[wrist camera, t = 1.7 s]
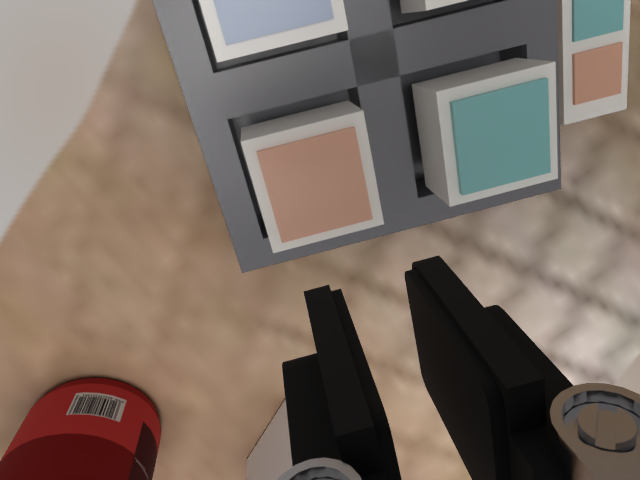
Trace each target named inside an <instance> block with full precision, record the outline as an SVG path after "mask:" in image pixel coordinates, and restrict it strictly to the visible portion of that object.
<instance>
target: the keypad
mask: <svg viewBox="0 0 640 480" xmlns="http://www.w3.org/2000/svg"><path fill="white" fill-rule="evenodd" d="M152 1H153V4H154V7H155V10H156V13H157V16H158V19H159V22H160V25H161V28H162V31H163V34H164V37H165V40H166V43H167V46H168V49H169V52H170V55H171V58H172V61H173V64H174V67H175V70H176V73H177V77H178V80H179V83H180V86H181V89H182V92H183V95H184V98H185V101H186V104H187V107H188V110H189V113H190V116H191V119H192V122H193V125H194V128H195V131H196V134H197V137H198V140H199V143H200V146H201V149H202V152H203V155H204V158H205V161H206V164H207V167H208V171H209V174H210V177H211V180H212V183H213V186H214V189H215V192H216V195H217V198H218V201H219V204H220V207H221V210H222V213H223V216H224V219H225V222H226V225H227V228H228V231H229V234H230V237H231V240H232V243H233V246H234V249H235V252H236V255H237V258H238V261H239V265H240V268H241V271H242V273H244V272H247V271H251V270H255V269H259V268H262V267H266V266H270V265H274V264H278V263H281V262H285V261H289V260H293V259H297V258H300V257H304V256H308V255H312V254H316V253H319V252H323V251H327V250H331V249H334V248H338V247H342V246H346V245H350V244H353V243H357V242H361V241H365V240H369V239H372V238H376V237H380V236H384V235H387V234H391V233H395V232H399V231H403V230H406V229H410V228H414V227H418V226H422V225H425V224H429V223H433V222H437V221H441V220H444V219H448V218H452V217H456V216H459V215H463V214H467V213H471V212H475V211H478V210H482V209H486V208H490V207H494V206H497V205H501V204H505V203H509V202H512V201H516V200H520V199H524V198H528V197H531V196H535V195H539V194H543V193H547V192H550V191H554V190H558V189H561V168H560V116H559V65H558V13H557V0H467V1H463V2H459V3H455V4H451V5H447V6H443V7H439V8H435V9H431V10H427V11H420V12H411V13H403V14H402V13H401V6H400V0H343V2H344V8H345V13H346V19H347V24H348V30H347V31H343V32H339V33H335V34H330V35H326V36H322V37H318V38H314V39H310V40H306V41H302V42H298V43H294V44H290V45H286V46H282V47H278V48H274V49H270V50H266V51H262V52H258V53H254V54H250V55H246V56H242V57H238V58H234V59H230V60H226V61H222V62H218V63H217V60H216V57H215V54H214V50H213V47H212V43H211V40H210V37H209V33H208V30H207V26H206V23H205V20H204V16H203V13H202V9H201V6H200V3H199V0H152ZM513 58H523V59H533V60H544V61H554V62H555V63H556V109H557V155H558V179H554V180H550V181H547V182H543V183H539V184H535V185H531V186H528V187H524V188H520V189H516V190H512V191H509V192H505V193H501V194H497V195H493V196H490V197H486V198H482V199H478V200H474V201H471V202H467V203H463V204H459V205H455V206H452V207H449V206H448V205H447V204H446V203H445V202H444V201H442V200H441V199H440V198H439V197H438V196H437V195H436V194H434V193H433V192H432V191H431V190H430V189H429V188H427V187H426V184H425V177H424V170H423V163H422V156H421V148H420V141H419V134H418V127H417V120H416V113H415V106H414V98H413V91H412V84H414V83H418V82H422V81H426V80H430V79H434V78H438V77H442V76H446V75H450V74H454V73H458V72H462V71H466V70H470V69H474V68H477V67H481V66H485V65H489V64H493V63H497V62H501V61H505V60H509V59H513ZM347 100H349V101H350V102H352V103H353V104H354V105H356V106H357V107H359V108H360V109H362V110H363V111H364V117H365V122H366V128H367V133H368V139H369V144H370V150H371V155H372V160H373V166H374V171H375V177H376V182H377V188H378V193H379V199H380V204H381V209H382V215H383V220H384V224H383V225H379V226H376V227H372V228H368V229H364V230H360V231H357V232H353V233H349V234H345V235H341V236H338V237H334V238H330V239H326V240H322V241H319V242H315V243H311V244H307V245H303V246H300V247H296V248H292V249H288V250H284V251H281V252H277V253H273V251H272V247H271V244H270V241H269V237H268V234H267V230H266V227H265V224H264V220H263V217H262V213H261V210H260V207H259V203H258V200H257V196H256V193H255V190H254V186H253V183H252V179H251V176H250V173H249V169H248V166H247V162H246V159H245V156H244V152H243V149H242V145H241V142H240V141H241V127H245V126H249V125H252V124H256V123H260V122H264V121H268V120H272V119H276V118H280V117H284V116H288V115H292V114H296V113H300V112H304V111H308V110H312V109H316V108H320V107H324V106H327V105H331V104H335V103H339V102H343V101H347Z"/></svg>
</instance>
